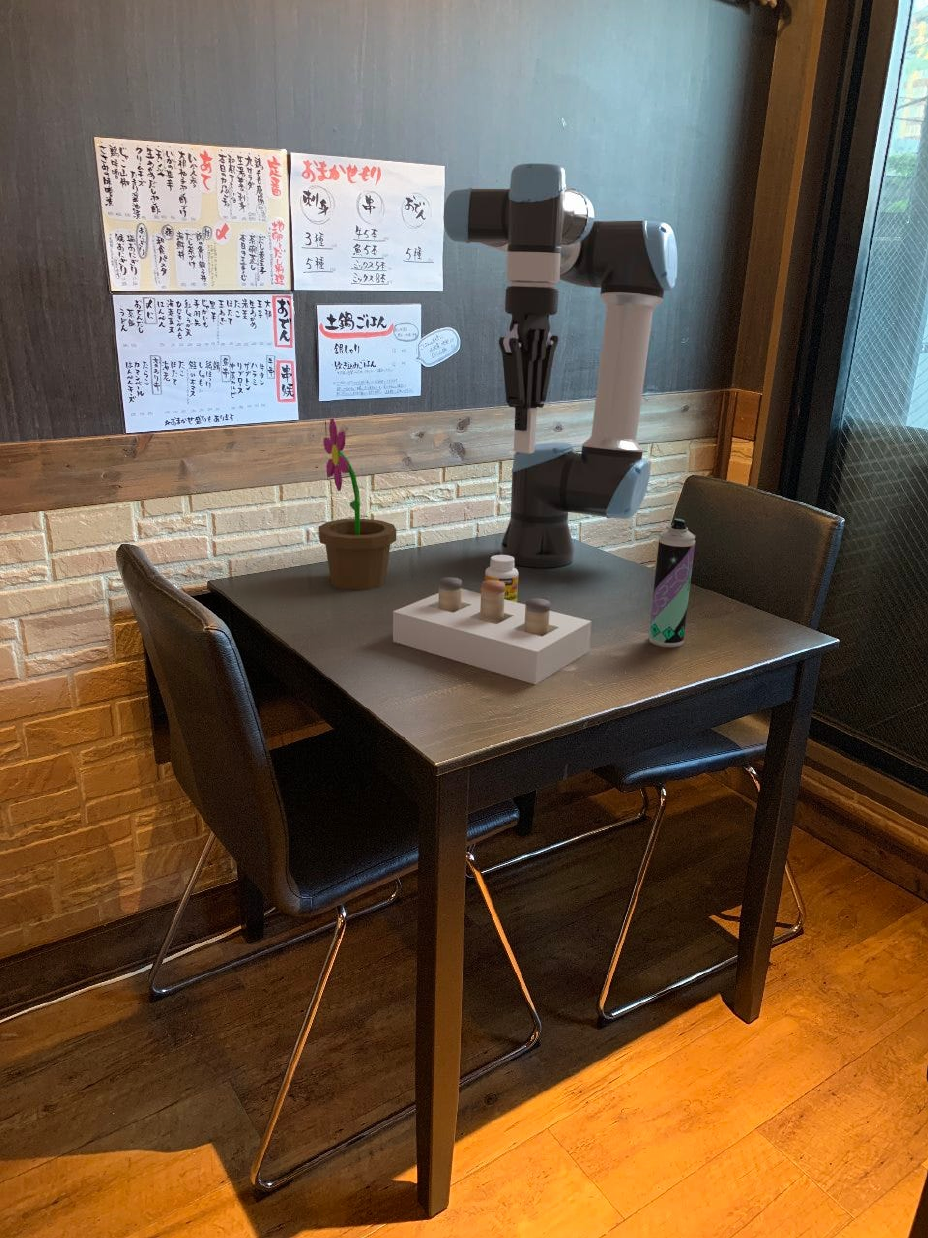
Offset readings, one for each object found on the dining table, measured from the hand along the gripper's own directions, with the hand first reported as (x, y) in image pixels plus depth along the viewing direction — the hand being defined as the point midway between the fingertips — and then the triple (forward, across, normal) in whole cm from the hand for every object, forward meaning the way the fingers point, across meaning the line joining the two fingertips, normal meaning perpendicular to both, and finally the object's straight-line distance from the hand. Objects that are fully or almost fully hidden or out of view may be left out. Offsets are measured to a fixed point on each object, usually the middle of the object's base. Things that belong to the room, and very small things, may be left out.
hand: (523, 451), depth 140 cm
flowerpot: (+30, -4, -37) cm, 48 cm away
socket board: (+29, +7, 0) cm, 30 cm away
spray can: (+30, -13, +20) cm, 38 cm away
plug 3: (+29, +7, +8) cm, 31 cm away
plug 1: (+29, +7, -8) cm, 31 cm away
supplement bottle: (+30, -6, -7) cm, 31 cm away
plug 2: (+28, +7, 0) cm, 29 cm away
